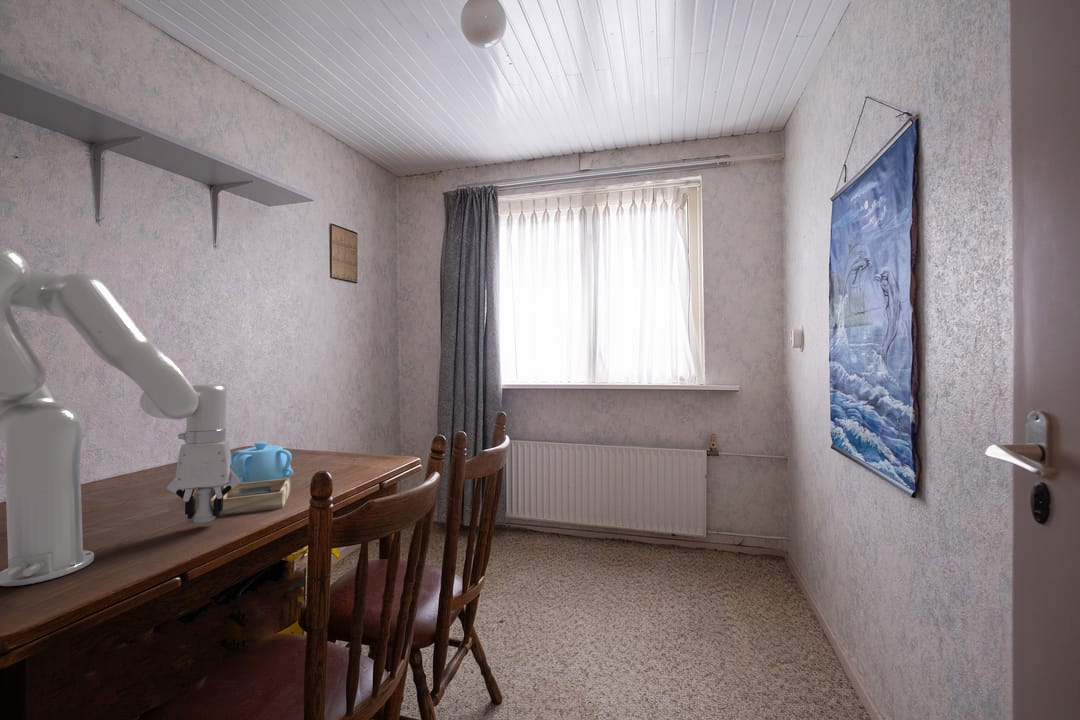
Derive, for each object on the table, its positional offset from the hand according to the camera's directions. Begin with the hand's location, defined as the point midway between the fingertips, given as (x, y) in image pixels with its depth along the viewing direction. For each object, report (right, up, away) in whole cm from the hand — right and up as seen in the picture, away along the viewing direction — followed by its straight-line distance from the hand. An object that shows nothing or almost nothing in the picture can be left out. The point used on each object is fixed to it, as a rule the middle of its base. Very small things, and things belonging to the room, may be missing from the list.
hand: (204, 515), depth 107 cm
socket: (+1, -3, +17) cm, 17 cm away
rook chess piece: (0, -1, 0) cm, 1 cm away
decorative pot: (-7, -3, +34) cm, 35 cm away
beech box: (+1, -3, +17) cm, 17 cm away
